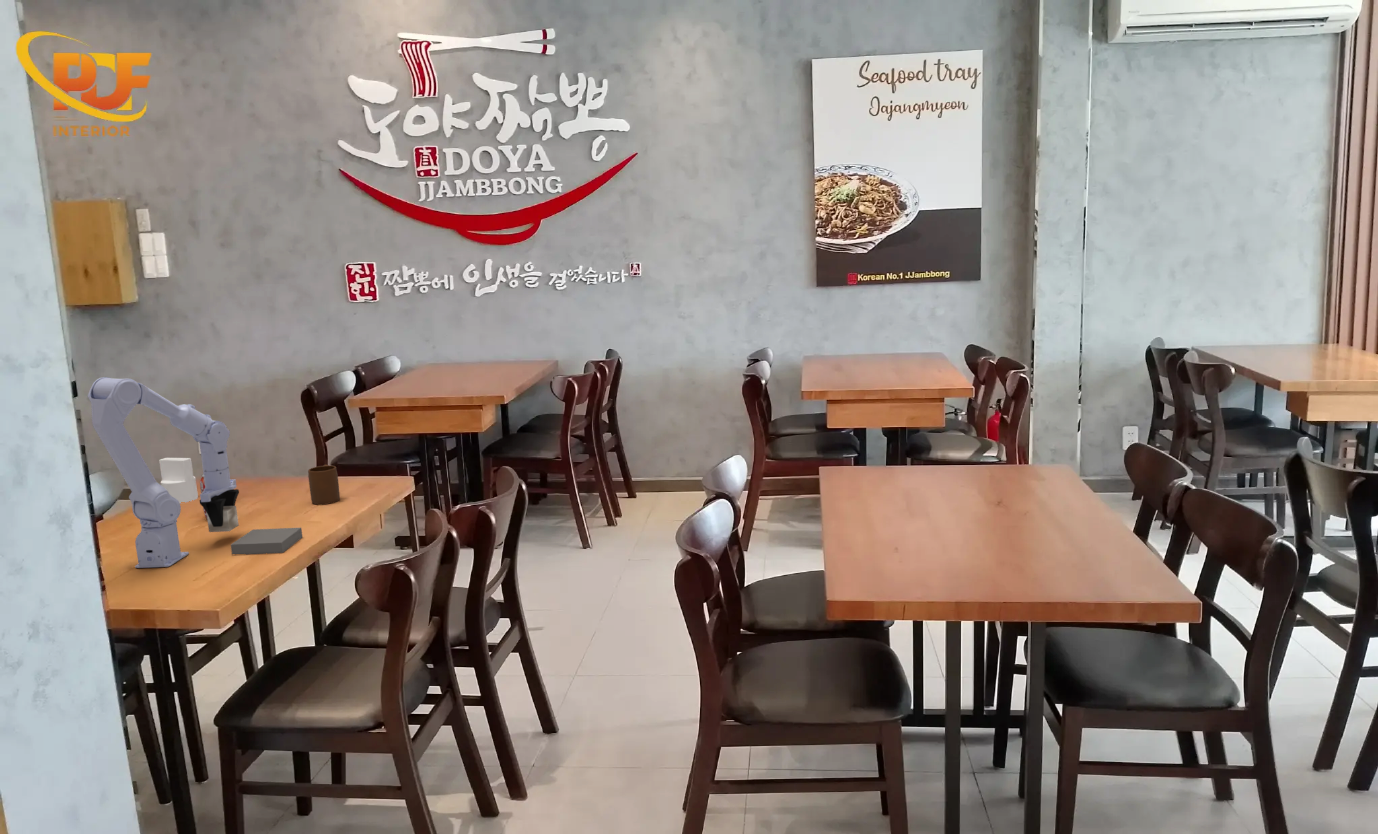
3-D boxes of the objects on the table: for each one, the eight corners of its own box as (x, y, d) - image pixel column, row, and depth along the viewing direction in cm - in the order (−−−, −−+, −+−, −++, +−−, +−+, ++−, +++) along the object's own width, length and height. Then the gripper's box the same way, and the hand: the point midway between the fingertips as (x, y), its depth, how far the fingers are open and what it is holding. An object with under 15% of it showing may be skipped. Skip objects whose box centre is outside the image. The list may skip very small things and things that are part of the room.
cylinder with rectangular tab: (156, 503, 293) (150, 462, 291) (180, 495, 301) (174, 455, 299) (181, 504, 290) (175, 463, 288) (205, 496, 299) (199, 455, 296)
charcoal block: (283, 554, 240) (281, 542, 240) (232, 556, 241) (230, 544, 240) (302, 539, 252) (301, 527, 252) (254, 541, 253) (252, 529, 252)
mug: (316, 495, 293) (312, 463, 291) (344, 492, 294) (340, 460, 292) (309, 506, 281) (305, 472, 279) (338, 503, 283) (334, 470, 281)
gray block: (229, 531, 249) (226, 511, 249) (209, 532, 250) (206, 512, 249) (238, 525, 254) (236, 505, 253) (218, 526, 255) (216, 506, 254)
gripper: (218, 475, 242) (225, 531, 244) (245, 461, 256) (252, 514, 259) (188, 476, 242) (196, 532, 245) (217, 462, 256) (224, 515, 259)
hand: (223, 523), depth 252 cm, fingers closed on gray block, 5 cm apart
